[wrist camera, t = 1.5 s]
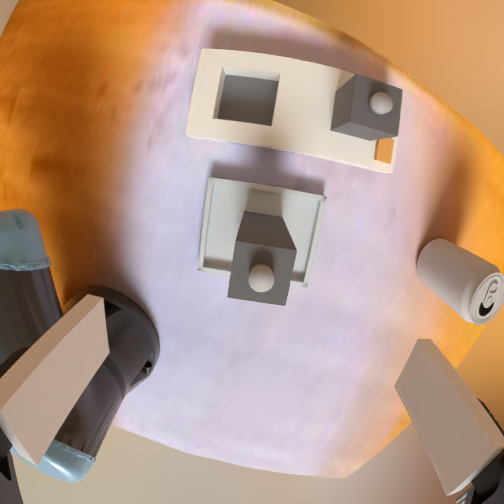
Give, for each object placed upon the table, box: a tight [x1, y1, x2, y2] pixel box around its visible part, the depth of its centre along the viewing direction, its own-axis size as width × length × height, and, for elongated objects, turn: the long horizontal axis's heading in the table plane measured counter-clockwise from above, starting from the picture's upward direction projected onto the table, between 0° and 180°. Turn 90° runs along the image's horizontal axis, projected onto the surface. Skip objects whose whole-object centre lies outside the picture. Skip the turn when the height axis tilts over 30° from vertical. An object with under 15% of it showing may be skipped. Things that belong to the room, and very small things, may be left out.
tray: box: [198, 177, 327, 287], centre depth 30 cm, size 12×10×2 cm
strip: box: [185, 48, 403, 173], centre depth 22 cm, size 20×9×11 cm, turn 81°
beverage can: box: [417, 239, 504, 325], centre depth 26 cm, size 6×6×12 cm
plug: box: [227, 211, 297, 306], centre depth 24 cm, size 4×4×13 cm
